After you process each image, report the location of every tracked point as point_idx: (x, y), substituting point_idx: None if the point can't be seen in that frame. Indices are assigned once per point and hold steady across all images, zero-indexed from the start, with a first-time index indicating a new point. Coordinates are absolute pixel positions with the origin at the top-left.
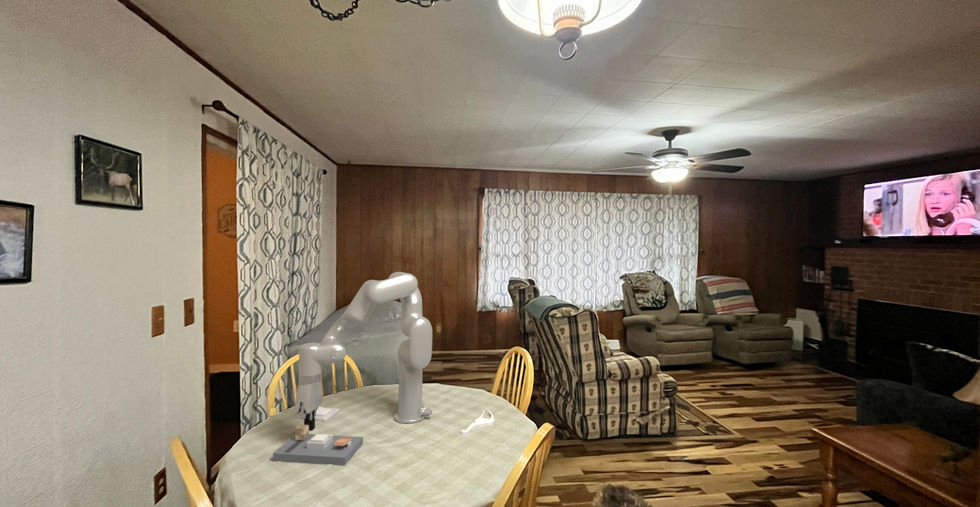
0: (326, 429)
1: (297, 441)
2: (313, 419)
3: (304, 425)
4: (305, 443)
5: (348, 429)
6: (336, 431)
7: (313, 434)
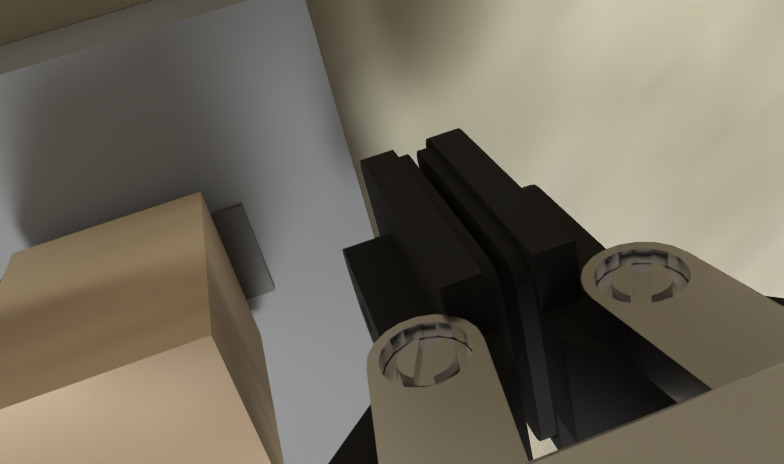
0: (743, 100)
1: None
2: (538, 433)
3: (219, 456)
4: None
5: None
6: None
7: None
